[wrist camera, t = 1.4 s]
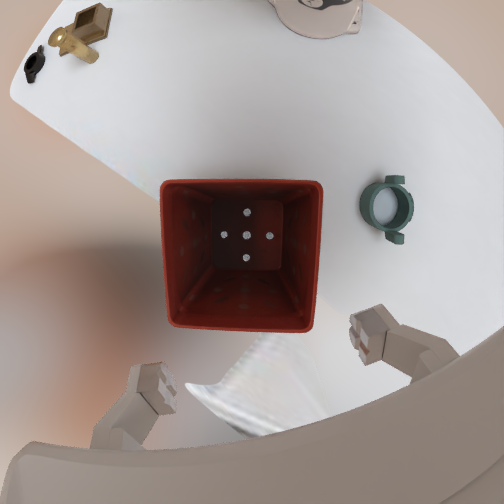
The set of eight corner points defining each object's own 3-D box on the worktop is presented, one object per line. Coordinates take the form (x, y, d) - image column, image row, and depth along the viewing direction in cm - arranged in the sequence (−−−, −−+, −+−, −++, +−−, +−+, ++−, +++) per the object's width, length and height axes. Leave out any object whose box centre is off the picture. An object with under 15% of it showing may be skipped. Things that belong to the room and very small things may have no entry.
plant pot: (305, 181, 47) (324, 181, 31) (299, 287, 52) (312, 333, 35) (194, 179, 48) (159, 179, 32) (196, 284, 52) (168, 326, 36)
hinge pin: (91, 49, 41) (55, 27, 28) (103, 50, 41) (67, 26, 28) (83, 64, 42) (45, 45, 29) (95, 66, 42) (57, 45, 29)
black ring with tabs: (55, 51, 41) (48, 48, 38) (34, 86, 43) (26, 84, 41) (42, 45, 40) (36, 42, 38) (22, 77, 43) (15, 75, 40)
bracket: (378, 238, 49) (399, 249, 40) (349, 200, 47) (366, 204, 39) (410, 207, 47) (435, 213, 38) (382, 168, 46) (405, 167, 37)
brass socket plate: (67, 28, 39) (54, 20, 34) (112, 9, 38) (101, -2, 33) (61, 56, 41) (47, 50, 36) (107, 37, 41) (94, 27, 35)
